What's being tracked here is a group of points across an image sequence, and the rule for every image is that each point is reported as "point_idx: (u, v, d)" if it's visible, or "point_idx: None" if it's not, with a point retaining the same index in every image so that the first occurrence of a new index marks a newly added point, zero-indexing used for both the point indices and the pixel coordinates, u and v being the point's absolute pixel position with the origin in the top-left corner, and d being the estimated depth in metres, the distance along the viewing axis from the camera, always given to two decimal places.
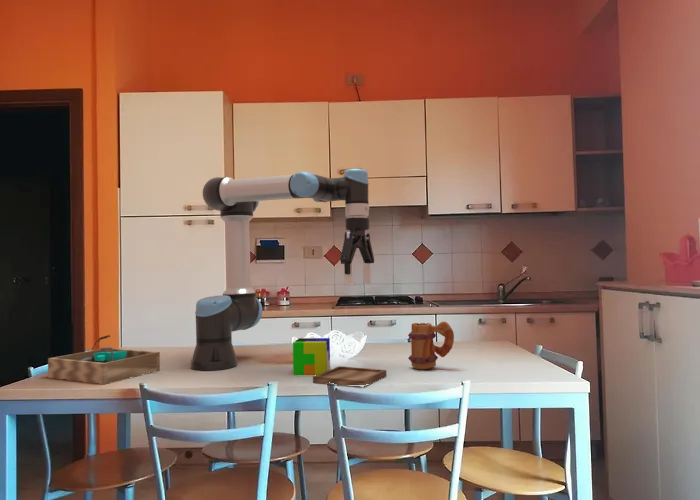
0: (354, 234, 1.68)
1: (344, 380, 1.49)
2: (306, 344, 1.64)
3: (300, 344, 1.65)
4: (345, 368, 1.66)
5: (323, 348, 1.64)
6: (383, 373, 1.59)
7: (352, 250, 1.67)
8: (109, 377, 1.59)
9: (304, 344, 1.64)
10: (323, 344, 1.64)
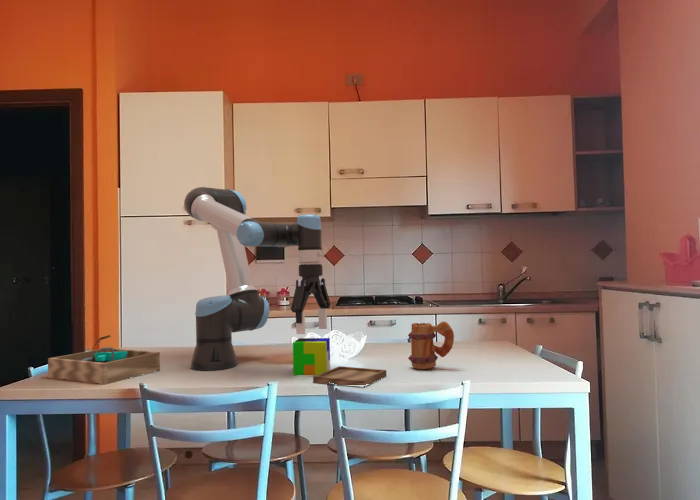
0: (306, 281, 1.66)
1: (344, 380, 1.49)
2: (306, 344, 1.64)
3: (300, 344, 1.65)
4: (345, 368, 1.66)
5: (323, 348, 1.64)
6: (383, 373, 1.59)
7: (304, 298, 1.64)
8: (109, 377, 1.59)
9: (304, 344, 1.64)
10: (323, 344, 1.64)
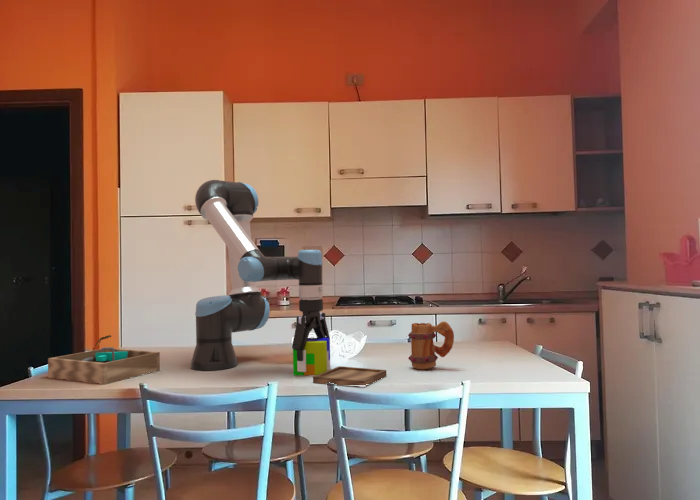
0: (307, 317, 1.65)
1: (344, 380, 1.49)
2: (306, 344, 1.64)
3: None
4: (345, 368, 1.66)
5: (323, 348, 1.64)
6: (383, 373, 1.59)
7: (305, 335, 1.64)
8: (109, 377, 1.59)
9: None
10: (323, 344, 1.64)
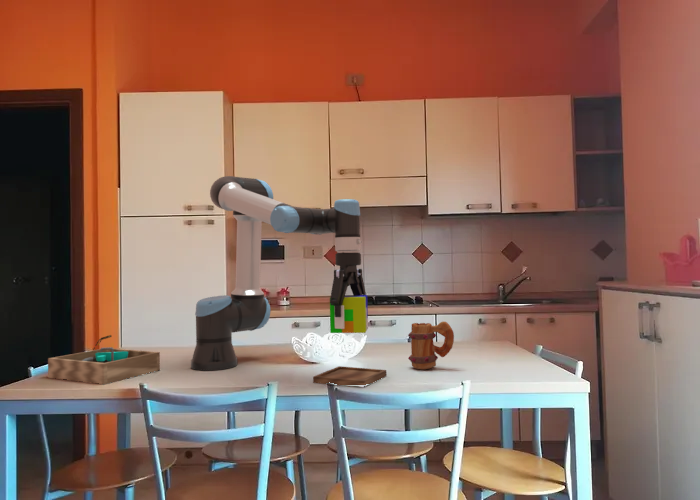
0: (344, 271, 1.54)
1: (344, 380, 1.49)
2: (344, 299, 1.53)
3: None
4: (345, 368, 1.66)
5: (362, 303, 1.52)
6: (383, 373, 1.59)
7: (343, 290, 1.53)
8: (109, 377, 1.59)
9: None
10: (362, 299, 1.52)
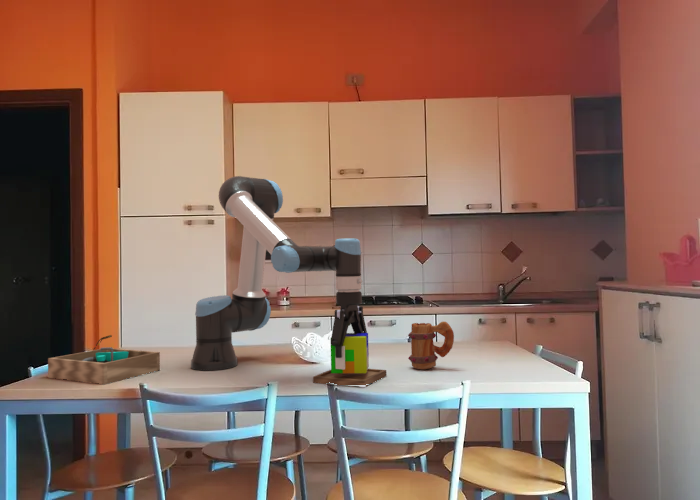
0: (345, 311, 1.54)
1: (344, 380, 1.49)
2: (345, 339, 1.53)
3: None
4: None
5: (363, 343, 1.52)
6: (383, 373, 1.59)
7: (343, 330, 1.53)
8: (109, 377, 1.59)
9: None
10: (363, 339, 1.52)
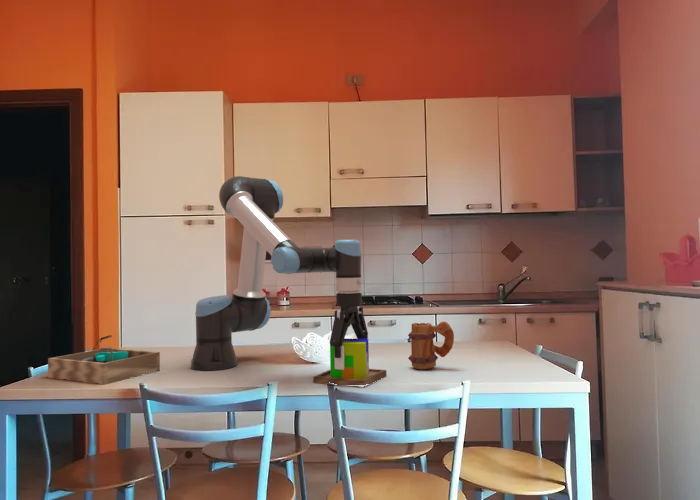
0: (345, 312, 1.54)
1: (344, 380, 1.49)
2: (344, 345, 1.53)
3: None
4: None
5: (363, 349, 1.52)
6: (383, 373, 1.59)
7: (343, 330, 1.52)
8: (109, 377, 1.59)
9: (342, 345, 1.53)
10: (363, 345, 1.52)
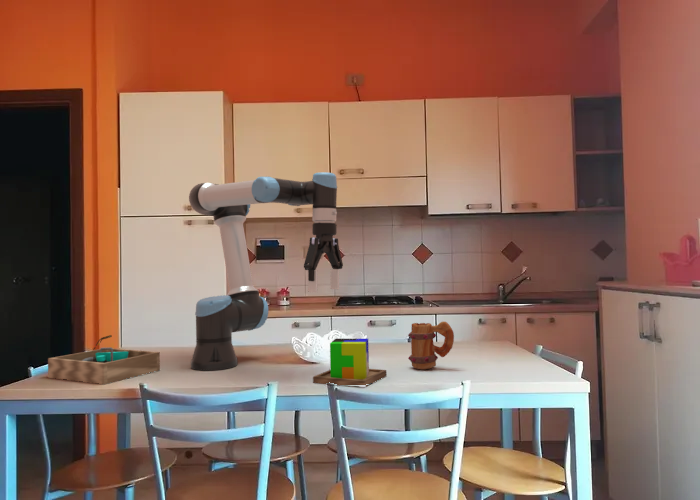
0: (320, 240, 1.64)
1: (344, 380, 1.49)
2: (344, 345, 1.53)
3: (338, 345, 1.53)
4: None
5: (363, 349, 1.52)
6: (383, 373, 1.59)
7: (317, 256, 1.63)
8: (109, 377, 1.59)
9: (342, 345, 1.53)
10: (363, 345, 1.52)
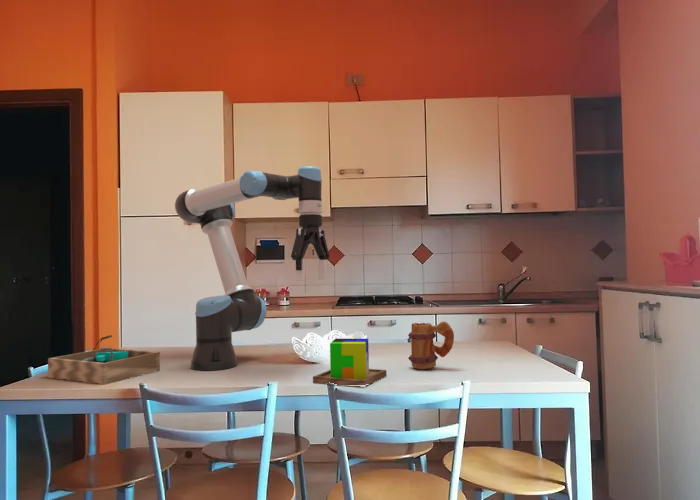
0: (306, 231, 1.70)
1: (344, 380, 1.49)
2: (344, 345, 1.53)
3: (338, 345, 1.53)
4: None
5: (363, 349, 1.52)
6: (383, 373, 1.59)
7: (304, 246, 1.69)
8: (109, 377, 1.59)
9: (342, 345, 1.53)
10: (363, 345, 1.52)
